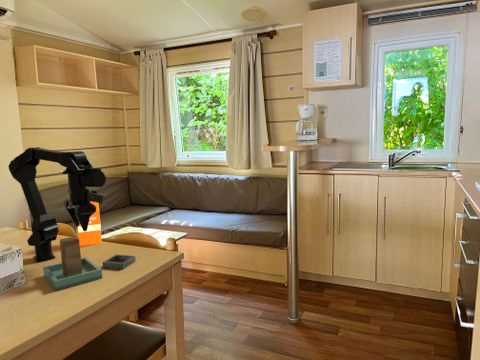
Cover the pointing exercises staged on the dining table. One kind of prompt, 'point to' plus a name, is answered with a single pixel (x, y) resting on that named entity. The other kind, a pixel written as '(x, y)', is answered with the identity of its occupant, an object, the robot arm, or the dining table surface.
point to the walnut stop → (70, 256)
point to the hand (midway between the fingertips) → (81, 228)
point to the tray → (61, 281)
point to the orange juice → (91, 229)
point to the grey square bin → (126, 258)
